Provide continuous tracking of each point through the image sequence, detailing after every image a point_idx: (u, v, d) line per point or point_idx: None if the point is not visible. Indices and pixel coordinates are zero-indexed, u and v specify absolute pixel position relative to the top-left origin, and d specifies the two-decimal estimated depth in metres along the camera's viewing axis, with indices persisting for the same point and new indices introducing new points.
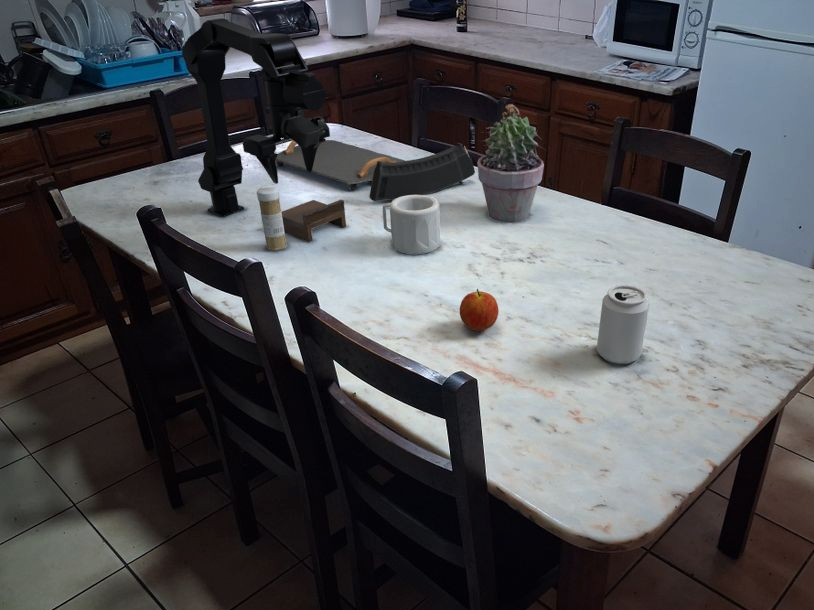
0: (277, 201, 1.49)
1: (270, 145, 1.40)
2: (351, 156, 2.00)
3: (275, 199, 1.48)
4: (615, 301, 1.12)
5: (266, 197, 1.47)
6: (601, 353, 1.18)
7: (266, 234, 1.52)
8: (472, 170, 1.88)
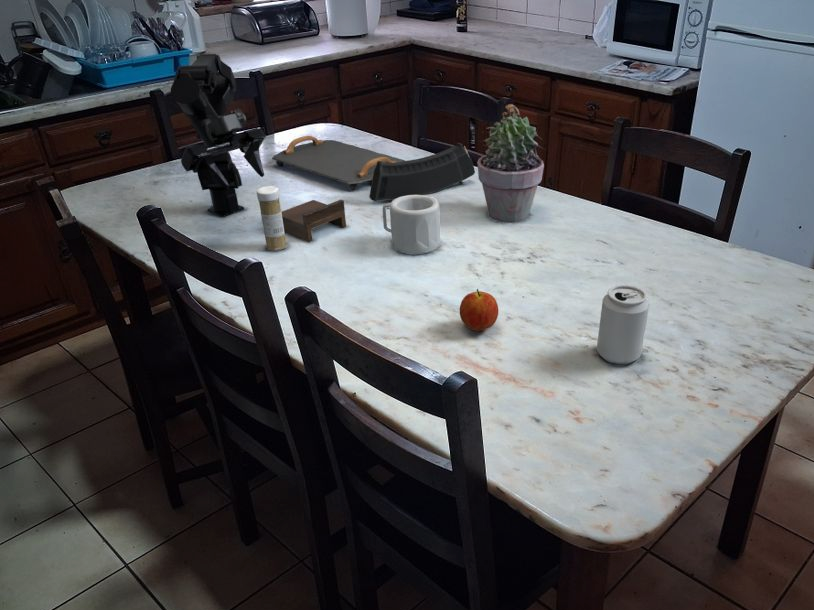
0: (277, 201, 1.49)
1: (199, 146, 1.45)
2: (351, 156, 2.00)
3: (275, 199, 1.48)
4: (615, 301, 1.12)
5: (266, 197, 1.47)
6: (601, 353, 1.18)
7: (266, 234, 1.52)
8: (472, 170, 1.88)
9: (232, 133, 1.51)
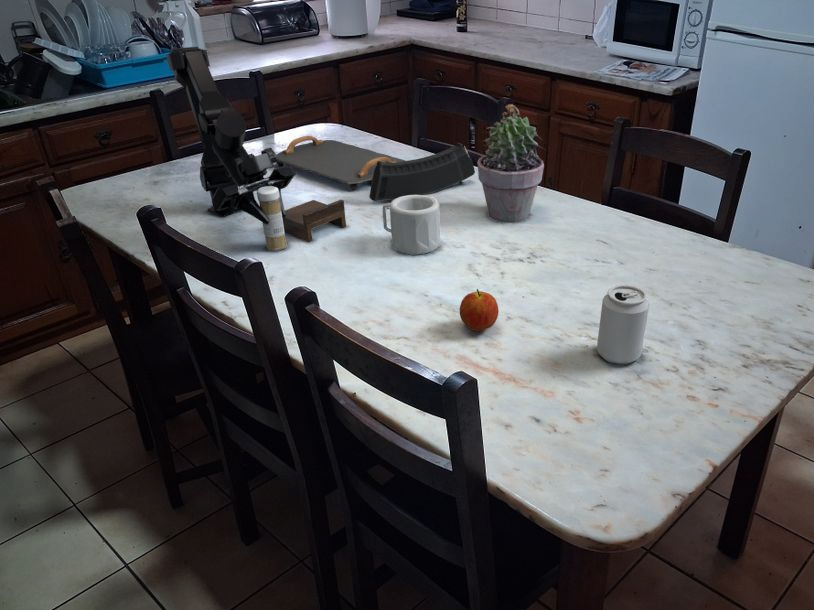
0: (277, 201, 1.49)
1: (230, 186, 1.44)
2: (351, 156, 2.00)
3: (275, 199, 1.48)
4: (615, 301, 1.12)
5: (266, 197, 1.47)
6: (601, 353, 1.18)
7: (266, 234, 1.52)
8: (472, 170, 1.88)
9: (263, 172, 1.50)
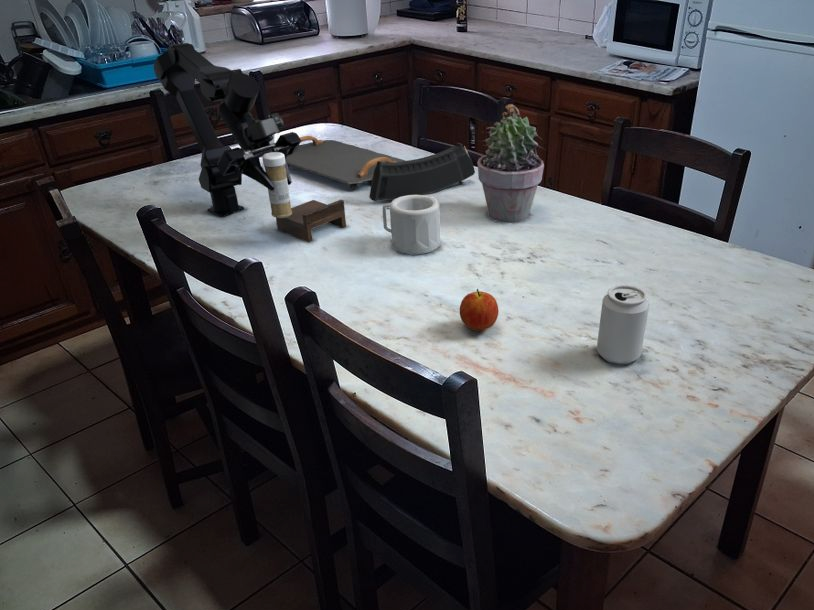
0: (283, 167, 1.48)
1: (236, 150, 1.43)
2: (351, 156, 2.00)
3: (281, 165, 1.47)
4: (615, 301, 1.12)
5: (272, 162, 1.46)
6: (601, 353, 1.18)
7: (271, 201, 1.51)
8: (472, 170, 1.88)
9: (269, 137, 1.49)
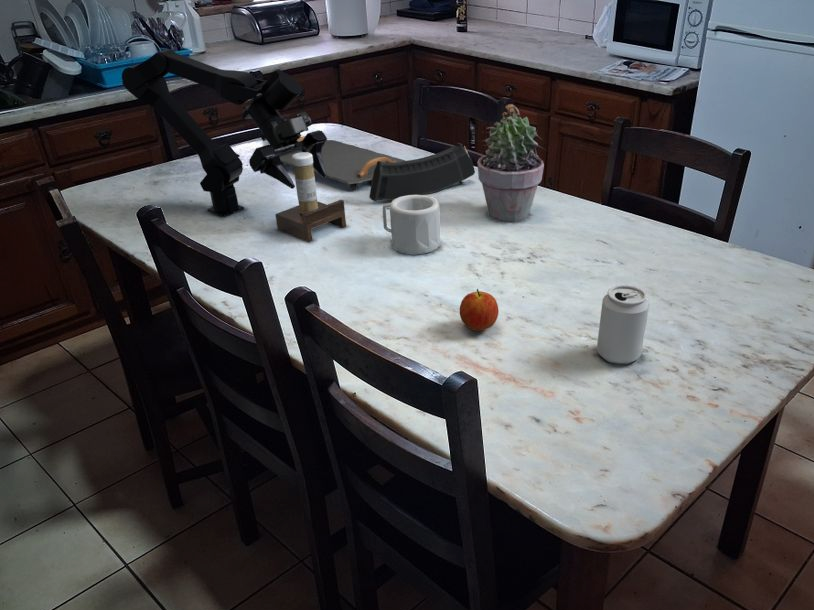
0: (311, 166, 1.56)
1: (267, 147, 1.51)
2: (351, 156, 2.00)
3: (309, 164, 1.55)
4: (615, 301, 1.12)
5: (301, 162, 1.54)
6: (601, 353, 1.18)
7: (300, 198, 1.59)
8: (472, 170, 1.88)
9: (297, 135, 1.56)
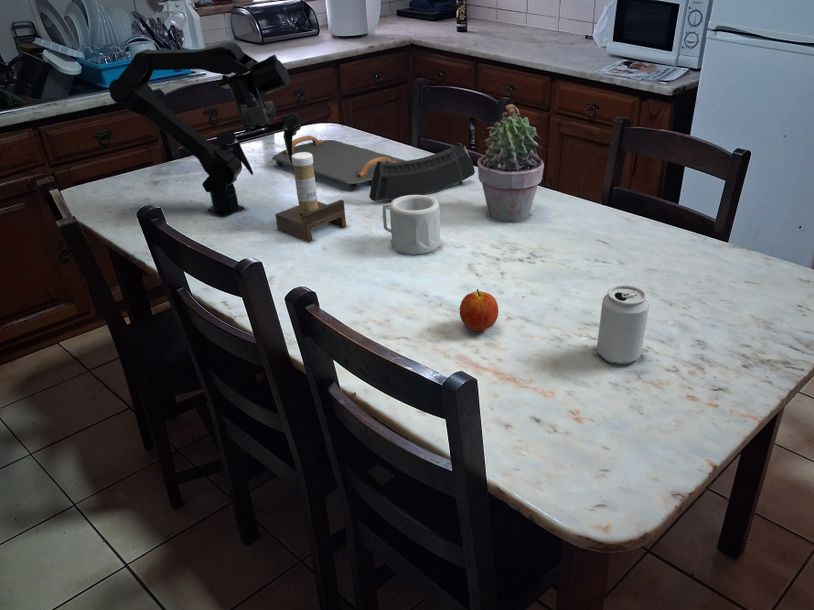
0: (311, 166, 1.56)
1: (228, 134, 1.54)
2: (351, 156, 2.00)
3: (309, 164, 1.55)
4: (615, 301, 1.12)
5: (301, 162, 1.54)
6: (601, 353, 1.18)
7: (300, 198, 1.59)
8: (472, 170, 1.88)
9: None
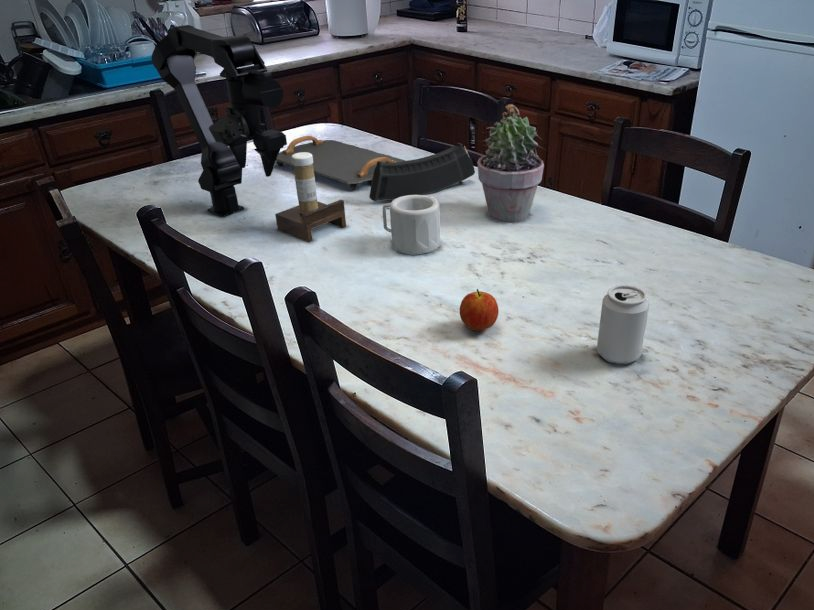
0: (311, 166, 1.56)
1: None
2: (351, 156, 2.00)
3: (309, 164, 1.55)
4: (615, 301, 1.12)
5: (301, 162, 1.54)
6: (601, 353, 1.18)
7: (300, 198, 1.59)
8: (472, 170, 1.88)
9: (242, 133, 1.50)
